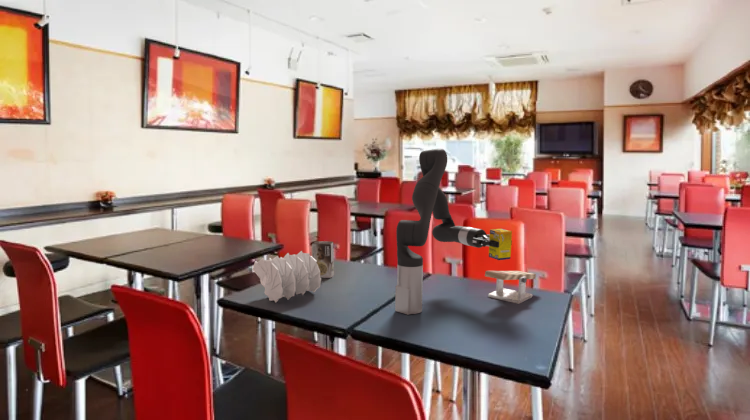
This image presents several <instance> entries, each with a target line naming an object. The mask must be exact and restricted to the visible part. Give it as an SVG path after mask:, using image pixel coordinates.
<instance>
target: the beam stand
mask: <svg viewBox="0 0 750 420" xmlns="http://www.w3.org/2000/svg"><path fill="white" fill-rule="evenodd" d="M527 280H528V279H527V278H526V277H525V276H523V277H520V278H519V280H518V290H514V289H510V288H505V287H504V280H501V279H496V285H495V287H496V288H495V290H494V291H492V292H490V293H488V298H490V299H491V298H492V299H496V300H501V301H505V302H509V303H513V304H517V305H519V304H522V303H523V302H525V301H528V300H530V299H531V298H533V294H532V293H530V292H529V293H528V292H526V285H527Z"/></svg>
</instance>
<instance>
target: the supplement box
mask: <svg viewBox="0 0 750 420" xmlns="http://www.w3.org/2000/svg"><path fill="white" fill-rule="evenodd" d="M489 234H490V238H489V239H490V240H493V241H498V242H499V247H492V246H489V247H488V258H491V259H495V260H497V261H505V260H510V259H511V257H512V256H511V254H512V245H511V240H512V237H513V235H512V230H507V229H504V228H492V229H489Z"/></svg>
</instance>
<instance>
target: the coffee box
mask: <svg viewBox="0 0 750 420" xmlns="http://www.w3.org/2000/svg"><path fill="white" fill-rule="evenodd" d="M311 248H312V249H311V251H312V254H311V256H312V257H313V258H314V259H315V260H316V261H317V262H316V263H317V264H318V267H319V270H320V278H321V279H322V278H325V279H326V278H329V279H332V278H333V277H334V276H335V272H334V271H335V269H334V268H335V267H334V265H335V263H334V262H335V261H334V260H335V258H334V256H335V255H334V241H318V240H317V241H314V242H313V243H312V244H311Z"/></svg>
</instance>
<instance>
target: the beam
mask: <svg viewBox="0 0 750 420" xmlns="http://www.w3.org/2000/svg"><path fill="white" fill-rule="evenodd" d="M523 276H525V277H526V278H527V280H535V279H536V276H537V274H536V273H533V272H526V271H521V270H485V273H484V277H486V278H490V279H491V278H492V279H496V280H497V279H501V280H503V281H510V280H511V281H515V280H518V281H519V278H520V277H523Z"/></svg>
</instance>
